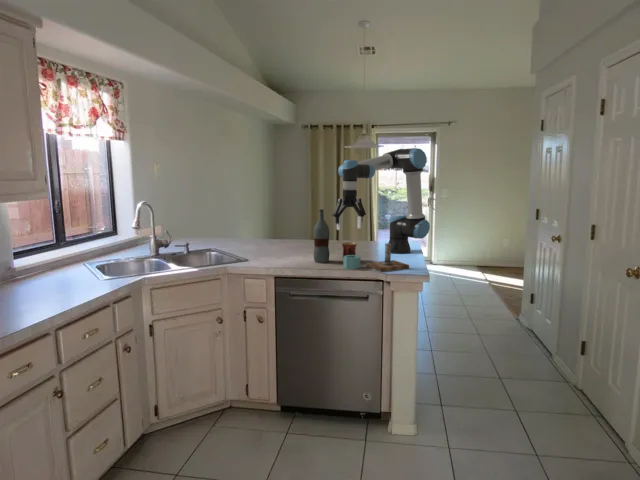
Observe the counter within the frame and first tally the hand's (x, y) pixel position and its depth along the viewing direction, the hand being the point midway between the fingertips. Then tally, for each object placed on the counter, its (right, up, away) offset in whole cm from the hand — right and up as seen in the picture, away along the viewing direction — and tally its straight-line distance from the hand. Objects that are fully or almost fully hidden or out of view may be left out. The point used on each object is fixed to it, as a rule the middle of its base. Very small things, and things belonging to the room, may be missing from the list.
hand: (349, 229), depth 244 cm
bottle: (-15, -19, +16) cm, 29 cm away
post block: (+21, -21, +1) cm, 29 cm away
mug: (+1, -19, +16) cm, 25 cm away
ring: (+2, -21, +1) cm, 21 cm away
